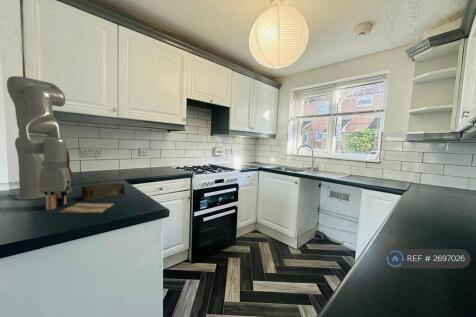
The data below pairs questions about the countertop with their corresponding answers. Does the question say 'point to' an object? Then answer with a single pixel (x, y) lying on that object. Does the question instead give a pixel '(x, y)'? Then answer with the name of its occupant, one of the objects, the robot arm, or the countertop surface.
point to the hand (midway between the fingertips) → (56, 205)
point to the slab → (52, 201)
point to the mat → (87, 208)
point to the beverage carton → (102, 191)
